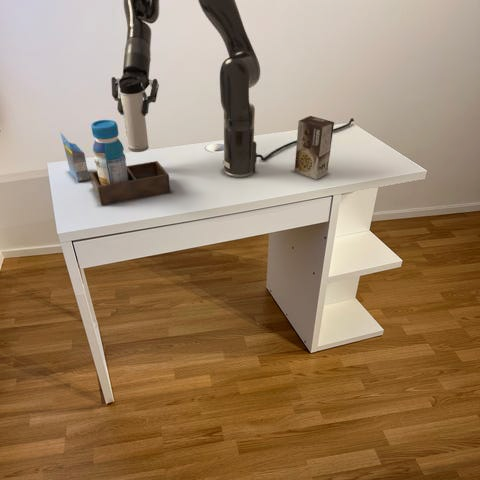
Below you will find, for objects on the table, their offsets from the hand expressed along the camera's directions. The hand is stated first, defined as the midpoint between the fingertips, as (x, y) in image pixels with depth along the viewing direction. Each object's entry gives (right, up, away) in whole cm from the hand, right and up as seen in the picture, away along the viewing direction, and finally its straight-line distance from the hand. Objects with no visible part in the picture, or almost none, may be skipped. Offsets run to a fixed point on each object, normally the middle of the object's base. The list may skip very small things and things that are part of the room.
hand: (132, 113), depth 135 cm
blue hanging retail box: (-19, -16, +9) cm, 26 cm away
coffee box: (+54, -13, +13) cm, 58 cm away
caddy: (0, -23, +1) cm, 23 cm away
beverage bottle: (-5, -24, 0) cm, 24 cm away
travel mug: (0, -7, +9) cm, 11 cm away
